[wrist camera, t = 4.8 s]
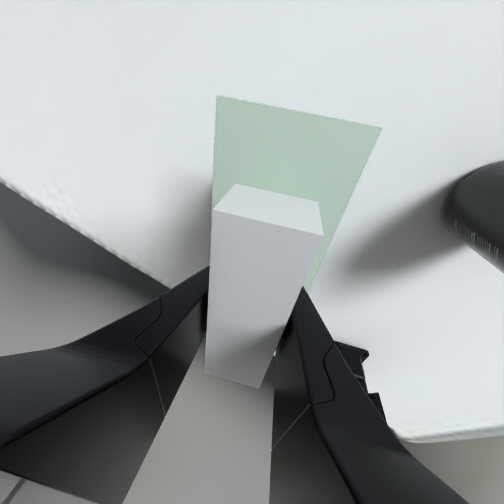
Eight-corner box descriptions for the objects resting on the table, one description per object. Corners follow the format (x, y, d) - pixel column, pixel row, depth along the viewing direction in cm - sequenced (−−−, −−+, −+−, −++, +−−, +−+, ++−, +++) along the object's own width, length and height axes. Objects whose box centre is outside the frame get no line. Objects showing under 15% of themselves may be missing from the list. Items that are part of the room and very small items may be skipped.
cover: (291, 317, 15) (286, 416, 10) (211, 296, 16) (170, 381, 11) (374, 125, 8) (482, 153, 3) (224, 96, 8) (120, 81, 4)
